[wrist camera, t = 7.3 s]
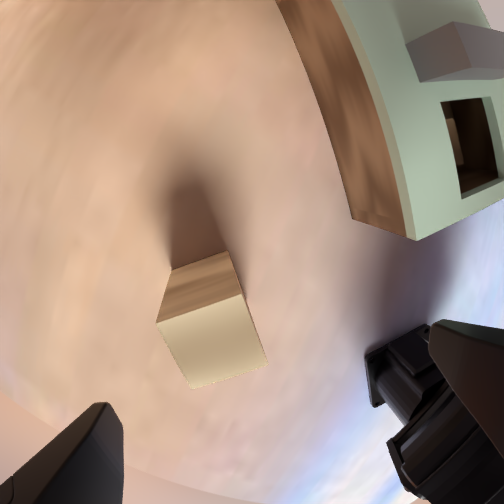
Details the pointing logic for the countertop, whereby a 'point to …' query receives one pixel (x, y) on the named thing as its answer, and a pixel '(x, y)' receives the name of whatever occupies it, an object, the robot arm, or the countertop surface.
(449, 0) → the lid
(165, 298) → the tan rectangular block
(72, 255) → the countertop surface
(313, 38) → the brown wooden open box
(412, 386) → the robot arm
